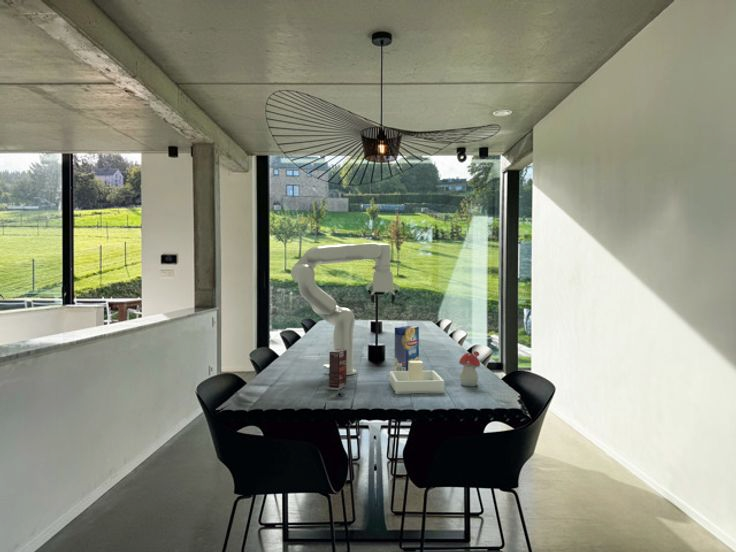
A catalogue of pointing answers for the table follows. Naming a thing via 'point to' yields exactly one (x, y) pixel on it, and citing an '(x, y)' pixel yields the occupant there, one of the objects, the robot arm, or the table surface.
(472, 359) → the decorative ornament
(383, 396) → the table surface
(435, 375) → the tray
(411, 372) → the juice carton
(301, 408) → the table surface
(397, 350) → the blue cardboard box
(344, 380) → the supplement box
